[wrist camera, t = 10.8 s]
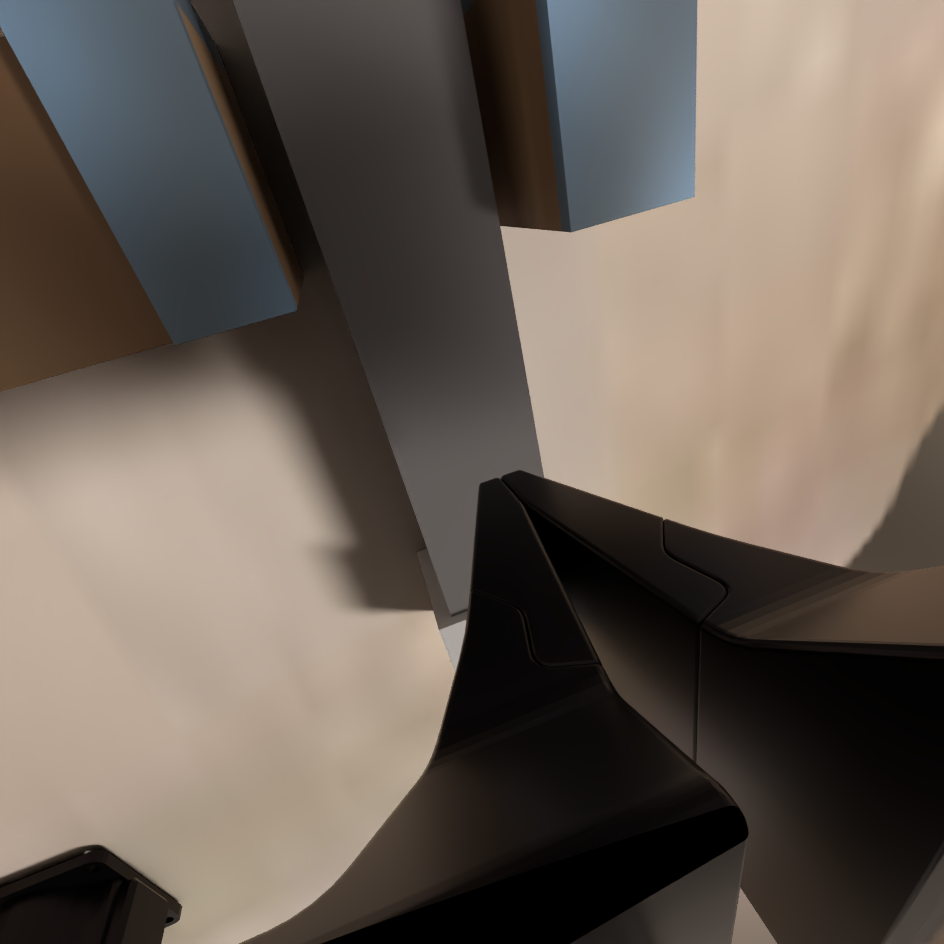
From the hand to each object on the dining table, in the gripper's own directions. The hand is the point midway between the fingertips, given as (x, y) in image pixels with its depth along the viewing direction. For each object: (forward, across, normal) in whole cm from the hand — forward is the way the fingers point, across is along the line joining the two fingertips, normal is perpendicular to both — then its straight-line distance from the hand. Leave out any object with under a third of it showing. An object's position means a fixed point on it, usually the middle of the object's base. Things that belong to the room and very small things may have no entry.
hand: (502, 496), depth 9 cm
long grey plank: (+6, 0, -2) cm, 6 cm away
